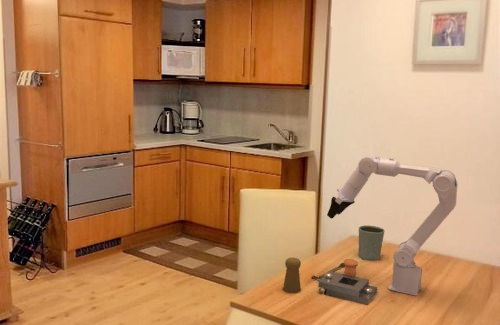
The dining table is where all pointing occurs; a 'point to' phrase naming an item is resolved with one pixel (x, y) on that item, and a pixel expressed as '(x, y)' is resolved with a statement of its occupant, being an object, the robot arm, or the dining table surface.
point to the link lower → (363, 298)
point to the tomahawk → (329, 271)
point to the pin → (350, 267)
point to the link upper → (335, 283)
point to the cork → (292, 276)
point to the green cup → (370, 242)
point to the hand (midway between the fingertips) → (333, 214)
